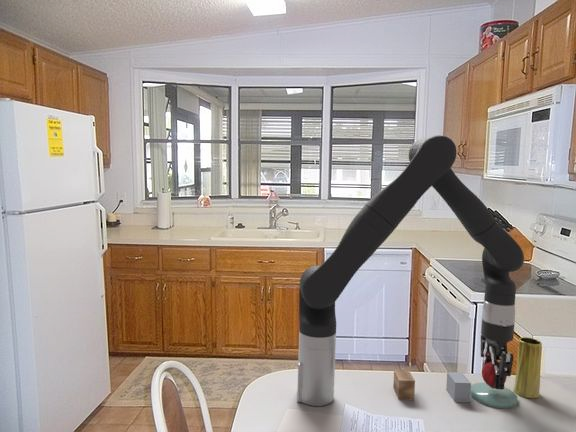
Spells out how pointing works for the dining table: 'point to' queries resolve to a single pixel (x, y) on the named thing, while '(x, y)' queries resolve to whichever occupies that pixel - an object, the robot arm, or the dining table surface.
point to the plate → (493, 396)
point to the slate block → (458, 387)
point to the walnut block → (404, 384)
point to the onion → (489, 374)
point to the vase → (528, 368)
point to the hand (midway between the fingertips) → (493, 382)
